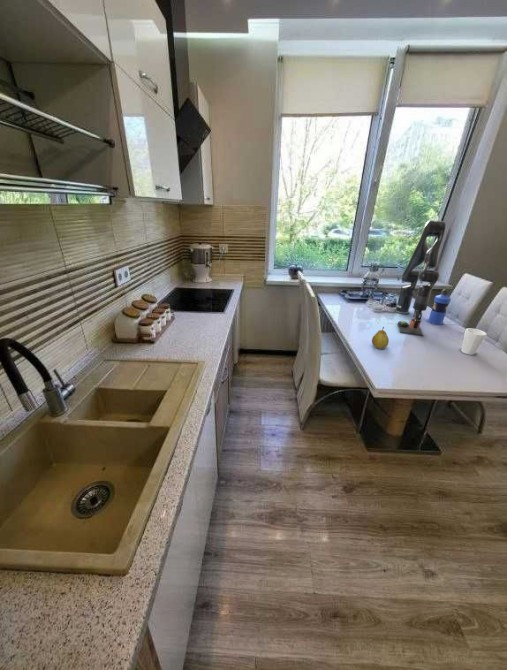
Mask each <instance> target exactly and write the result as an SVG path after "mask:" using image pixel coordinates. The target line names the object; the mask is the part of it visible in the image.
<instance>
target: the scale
mask: <svg viewBox="0 0 507 670" xmlns="http://www.w3.org/2000/svg"><path fill="white" fill-rule="evenodd" d="M401 321H402V320H399V321H397V325H398V329H399V333H401V334H406V335H413V336H418V337H419V336H420V337H423V332H422V329H421V327H419V329H412V328H410V327H409V324H410V323H409V322H407V323H406V324H401Z"/></svg>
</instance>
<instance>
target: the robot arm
mask: <svg viewBox="0 0 507 670" xmlns="http://www.w3.org/2000/svg"><path fill="white" fill-rule="evenodd" d="M446 228H447V222H446V221H444V220H428V221H427V222H426V223H425V225H424V227H423V229H422V233H421V235H420V236H419V237H420V238H419V240H418V243H417V245H416V246H415V248H414V250H413V252H412V255H411V257H410V259H409V261H408V263H407V266H406V267H405V269H404V270H403V272H402V275H401V282H403V283H408V284H406V285H403V286H401V288H400V291H399V296H398V299H397V304H396V307H395V312H396V313H398V314H401V315H407V314H409V311H410V307H411V305H412V301H413V297H414V293H415V290H416V288H417V284H418V282H419V281H420V282H423V283H427V284H423V285H422V284H421V285H419V287H418V290H417V294H416V296H415V299H414V302H413V306H412V308H413V309H414V311H413V315H412V319H415V321H414V326H413V328H417V326H418V323H420V321H421V320H422V318H423V311H424V312H425V311H427V309H428V305H429V302H430V297H431V293H432V290H433V288H434V287H435V285H436V284H437V282H438V281H439V279H440V272H439V271H438V270H431V269H435V268H437V266H438V263H439V256H440V249H441V246H442V243H443V240H444V237H445V234H446ZM428 237H433V238H435V237H436V239H435V242H434V243H433V244H432V245H431V246H429V244H428V240H427V238H428ZM422 264H423V266H422V269H421V270H420V271H419V270H418V269H417V270H416V268H417V267H418V266H420V265H422ZM417 320H418V321H417Z"/></svg>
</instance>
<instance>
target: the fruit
mask: <svg viewBox="0 0 507 670" xmlns="http://www.w3.org/2000/svg"><path fill="white" fill-rule="evenodd" d="M384 328H385V326H382V329H380V330H378V331H377V332H376V333H375V334H374V335H373V336H372V339H371V344H372V346H374V348H376V349H378V350H383V349H385V348H387V347H388V345H389V342H390V341H389V336H388V333H387V332H386V331H385V330H384Z"/></svg>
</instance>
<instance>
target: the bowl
mask: <svg viewBox="0 0 507 670" xmlns="http://www.w3.org/2000/svg"><path fill="white" fill-rule="evenodd" d="M414 321H415V319H413V318H411V319H410V321H409V323H408V324H409V327H410V328H412V329H419V327H420V326H421V323H422V321H421V320H420V323H418V326H417V328H413V326H414ZM417 321H418V320H417ZM420 328H421V327H420Z"/></svg>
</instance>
